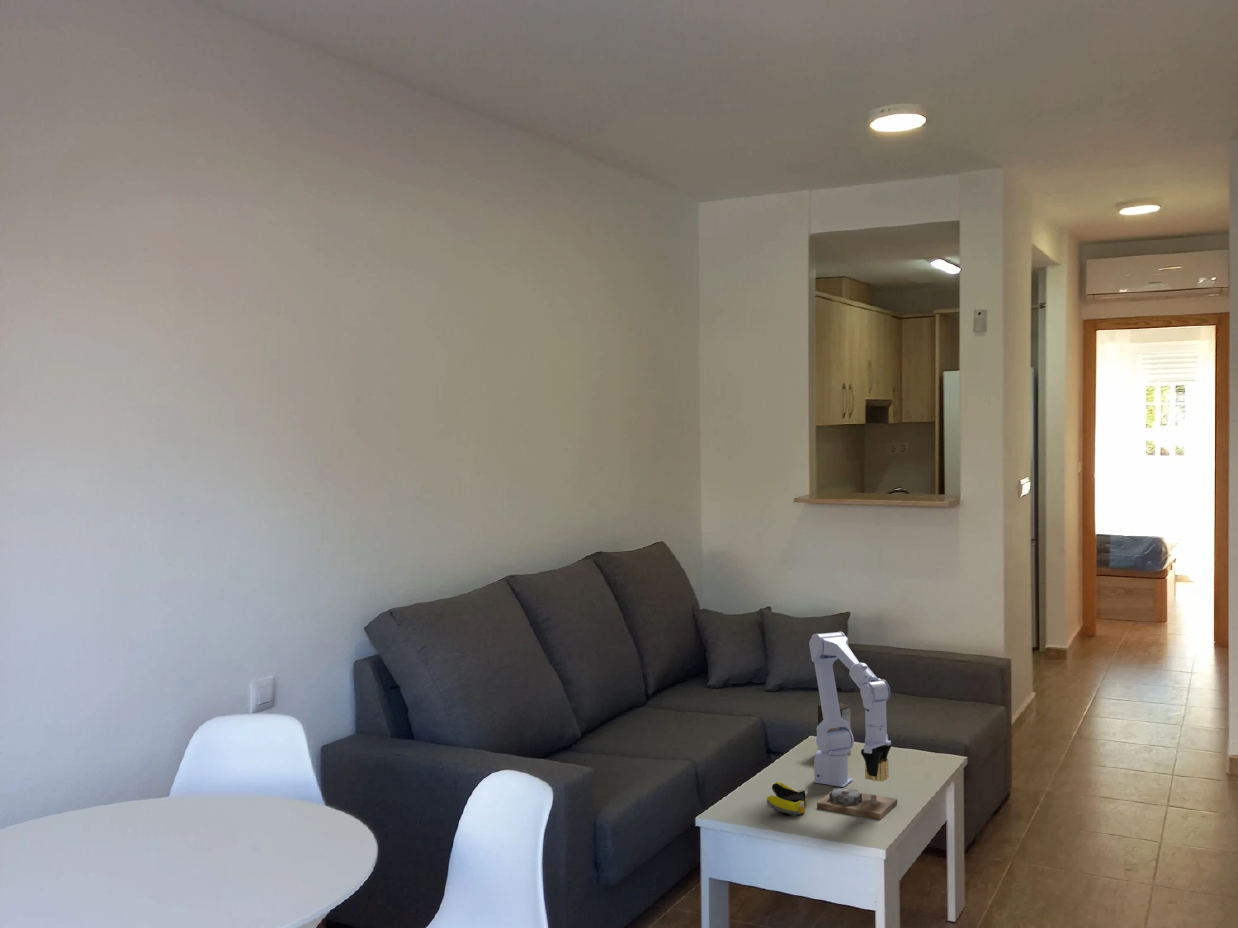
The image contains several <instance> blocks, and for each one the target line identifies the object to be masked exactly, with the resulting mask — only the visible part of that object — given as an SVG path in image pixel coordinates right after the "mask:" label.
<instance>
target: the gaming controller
mask: <svg viewBox="0 0 1238 928" xmlns="http://www.w3.org/2000/svg"><path fill="white" fill-rule="evenodd" d="M771 785H772V786H771V790H772V792H773V793H774V795H768V796H767V798H766V803H767V804H768V805H769V806H770V808H772V809H773V810H774V811H775V812H778V813H784V814H788V815H789V816H791V815H796V816H798V815H801V814H804V813H806V807H807V806H808V803H807V802H808V798H807V795H808V791H805V790H800V791H796V790H795V789H792V788H791V787H789V786H788V785H786V784H784V783H783V782H779V781H776V782H774V783H772V784H771Z"/></svg>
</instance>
